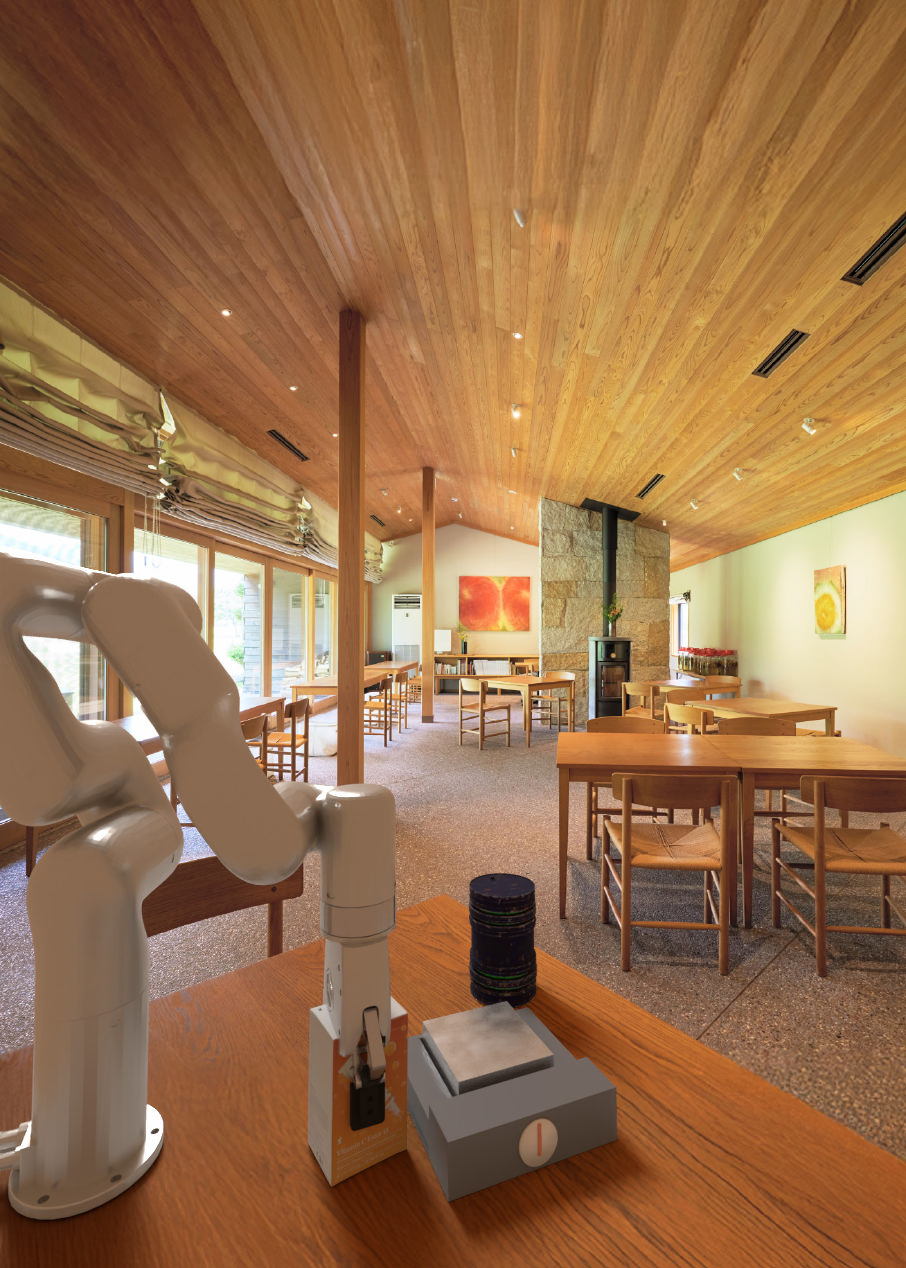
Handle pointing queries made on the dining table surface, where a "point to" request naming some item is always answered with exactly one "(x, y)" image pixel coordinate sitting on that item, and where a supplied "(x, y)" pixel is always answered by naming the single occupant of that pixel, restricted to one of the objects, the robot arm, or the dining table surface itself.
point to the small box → (331, 1099)
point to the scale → (509, 1117)
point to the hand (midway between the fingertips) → (358, 1095)
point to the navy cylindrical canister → (502, 939)
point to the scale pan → (483, 1048)
